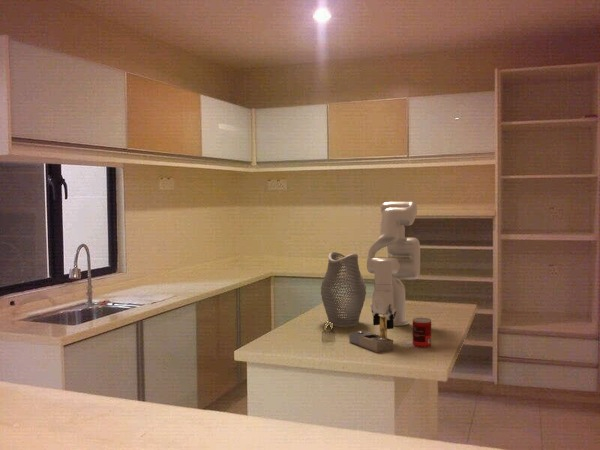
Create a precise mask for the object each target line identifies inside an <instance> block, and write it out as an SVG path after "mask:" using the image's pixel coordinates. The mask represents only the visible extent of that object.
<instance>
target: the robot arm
mask: <svg viewBox="0 0 600 450" xmlns="http://www.w3.org/2000/svg"><path fill="white" fill-rule="evenodd" d="M380 211H381V222H380V230H379V231H380V232H379V236H378V238H376V239H375V240H374V241H373V242H372V244H371V246H370V247H369V249H368V252H367V260H366V269H367V272H368V273H370V274H373V275H374V289H373V292H372V298H371V299H372V301H371V303H372V304H370V309H371V313H372V320H373V321H372V322H373V323H372V325H373V326H380V317H381V316H386V317H387V330H393V329H394V327H401V326H403V327H404V326H407V325H408V324H409V320H407V319H406V288H405V287H406V286H405V285H404V283H403V282H402V280H417V279H418V278H420V275H421V243H420V240H419V239H418V238H417V237H408V236H407V237H406V236H405V235H406V231H405V230H406V227H405V226H411V225H413V224H414V222H415V219H416V218H417V215H418V206H417V203H415V202H414V201H385V202H383V203H382V204H381V205H380ZM384 248H387V249H386V251H387V254H388V255H389V257H385V256H384V257H383V256H376V254H377V253H378V252H379V251H380V250H381V249H384ZM390 256H391V257H390ZM395 257H398V258H399V257H400V258H401V259H398V258H395ZM402 258H409V259H402ZM380 315H381V316H380Z"/></svg>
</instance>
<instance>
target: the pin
mask: <svg viewBox="0 0 600 450" xmlns="http://www.w3.org/2000/svg"><path fill="white" fill-rule="evenodd" d="M379 336H382V337H385V338H388V329H387V317H386V316H383V315H381V316H380V325H379Z"/></svg>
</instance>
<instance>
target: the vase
mask: <svg viewBox="0 0 600 450" xmlns="http://www.w3.org/2000/svg"><path fill="white" fill-rule="evenodd" d="M358 260H359V255H358V254H357V253H349V254H348V255H343V254H341V253H339V252H332V251H331V252H330V253H329V254H328V263H327V268H326V272H325V274H324V277H323V280H322V282H321V286H320V295H321V301H322V304H323V308H324V309H325V310H324V311H325V313H326V317H327V321H328V323H329V322H331V323H333V325H334V326H333V327H340V328H349V327H355V326H358V325H359V322H360V317H361V313H362V310H363V308H364V307H363V306H364V303H365V301H366V295H367V291H366V290H367V287H366V282H365V280H364V278H363V275H362V273H361V271H360V265H359V261H358Z"/></svg>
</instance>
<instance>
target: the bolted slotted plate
mask: <svg viewBox="0 0 600 450" xmlns="http://www.w3.org/2000/svg"><path fill="white" fill-rule="evenodd" d="M349 343H351V344H354V345H356V346H358V347H362V348H365V349H367V350H369V351H372V352H375V353H383V352H389V350H390V351H394V340H393V339H390V338H388V337H387V338H385V337H382V336H380V334H379V335H378V334H375V333H372V332H370V331H367V330H358V331H353V332H349Z"/></svg>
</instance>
